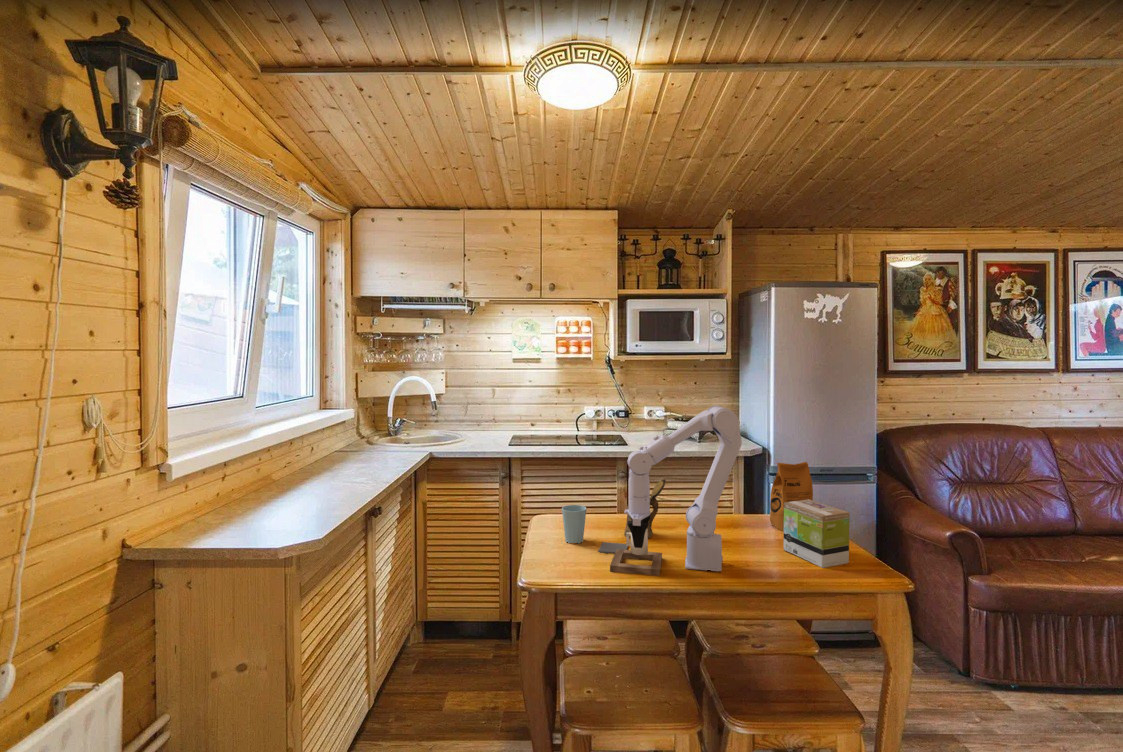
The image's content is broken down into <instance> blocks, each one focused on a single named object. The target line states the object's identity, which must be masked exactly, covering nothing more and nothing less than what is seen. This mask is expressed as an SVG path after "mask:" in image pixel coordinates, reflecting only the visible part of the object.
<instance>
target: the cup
mask: <svg viewBox="0 0 1123 752" xmlns="http://www.w3.org/2000/svg"><path fill="white" fill-rule="evenodd" d="M561 512H562V522H563V530H564V531H563V532H564V540H565V542H566V543H567V542H568V544H570V543H578V544H582V543H583V541H584V534H585V525H586V524H585V523H586V516H587V507H586V506H584V505H580V504H568V505H564V506H562V507H561ZM581 542H582V543H581Z"/></svg>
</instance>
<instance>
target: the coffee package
mask: <svg viewBox="0 0 1123 752" xmlns="http://www.w3.org/2000/svg"><path fill="white" fill-rule="evenodd" d="M776 464H777V465H776V466H777V469H778V470H777V472H776V474H775V478H774V480H773V483H772V486H771V490H770V500H769V501H770V503H769V506H770V507H769V508H770V512H769V521H770V524H771V526H774V528H776V529H777V530H778V531H781V532H784V502H785V503H786V502H793V501H800V500H807V499H810V500H813V501H814V492H813V491H814V489H813V480H812V476H811V473H810V472H811V471H810V466H809V463H808V461H805V462H803V461H802V462H800V463H795V464H793V463H785V462H777V463H776Z"/></svg>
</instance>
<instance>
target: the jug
mask: <svg viewBox="0 0 1123 752" xmlns="http://www.w3.org/2000/svg"><path fill="white" fill-rule="evenodd" d="M630 536H631V538H630ZM648 539H649V538H648V529H646V531H645V535H644V542H643V547H642V548H635V547H634V543H633V538H632V534H631V533H629V532H627V533H626V536H625V544H626V546H628V547H630V550H631V553H632V554H635V555H645V554H647V553H648V552H649V551H648V550H649V548H648V545H649V544H648V542H649V541H648Z"/></svg>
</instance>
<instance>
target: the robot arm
mask: <svg viewBox="0 0 1123 752" xmlns="http://www.w3.org/2000/svg"><path fill="white" fill-rule="evenodd" d="M701 431H702V432H713V431H714V432H715V434H716V436H717V438H718V440H719V442H720V444H719V447H718V449H717V451H716V454H715V456H714V459H713V461H712V464H711V467H710V468H709V471H708V474H707V476H706V479H705V481H704V484H703V486H702V489H701V491H700V494H699V495H698V496H697V497H696V498H695V499H694V502H693V504H691V506H689V507H688V509H687V510H686V512H685V520H686V521H687V523H688V524H689V526H688V528H687V529H686V556H685V557H684V558H685V561H684V562H685V564H684V569H686V570H696V571H707V570H711V571H710V572H719V571H721V572H723V571H722V566H723V565H722V563H723V561H724V560H723V558H724V556H723V550H722V549H723V548H722V547H723V545H722V543H723V541H722V539H723V537H722V534H719V533H715V531H716V527H717V523H716V521H717V516H718V510H719V509H718V504H719V502H720V499H721V497H722V493H723V492H724V489H725V486H726V484H727V482H728V479H729V476H730V473H731V471H732V469H733V467H734V464H735V462H736V459H737V457H738V455H739V452H740V449H741V447H742V442H743V441H742V436H741V430H740V420H739V418H738V416H737V415H736V413H735V412H734V411H733V410H731V409H730V408H726V407H723V406H721V405H712V406H710V407H709V408H708V409H705V410H703V411H701V412H699V413H698V414H697V415H695V416H694V417H693V418H691V419H690V420H688V421H687V422H685V423H684V424H683V425H681V426H680V427H679V428H677V429H676V430H674V431H673V432H671V433H670V434H669V435H665V434H661V435H660V436H658V435H655V436H653V440H651V441H650V442H647V444H645V445H644V446H642V445H641V446H639V447H638V450H634V451H632V452H631V453H630V454H629V456H628V457H627V460H626V464H627V465H628V468H629V472H628V504H629V509H627V508H625V509H624V514H626V515H627V514H629V515H630V518H631V520H632V521H628V522H627V521H626V522H627V524H628V527H629V529H630V531H631V534H632V538H633V543H634V547H635V548H642V547H643V542H644V535H645V531H646V529H647V527H648V525H649V523H648V521H649V519H650V517H651V515H650V513H651V505H650V497H651V496H650V495H651V494H650V492H651V490H650V487H651V485H650V481H651V480H650V471H651V469H652V466H656V464H658V463H660V462H661V461H662V460H665V458H667V457H669V456H670V455H672V454H673V453H674V452H675V447H676V446H677V445H679V444H680V443H682V442H683V441H685V440H687V439H689V438H690V437H693V436H694V435H695V434H697V433H699V432H701Z"/></svg>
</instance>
